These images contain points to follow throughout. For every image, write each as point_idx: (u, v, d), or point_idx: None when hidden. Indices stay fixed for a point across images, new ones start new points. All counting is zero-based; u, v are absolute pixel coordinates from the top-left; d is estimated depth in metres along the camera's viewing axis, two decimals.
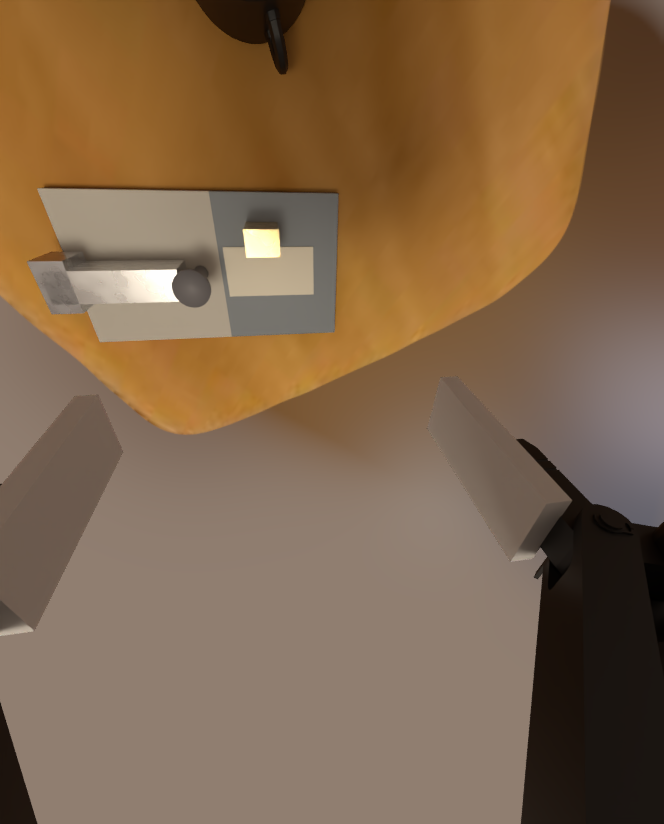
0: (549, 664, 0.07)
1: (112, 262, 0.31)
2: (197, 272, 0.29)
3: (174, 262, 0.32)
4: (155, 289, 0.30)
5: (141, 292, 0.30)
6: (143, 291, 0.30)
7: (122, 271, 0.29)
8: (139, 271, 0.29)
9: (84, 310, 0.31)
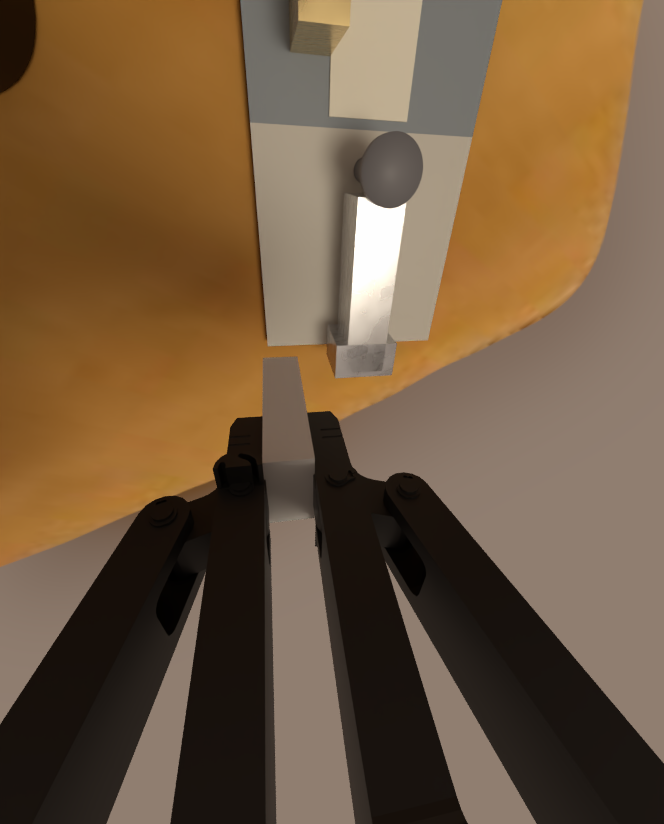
0: (333, 636, 0.07)
1: (341, 294, 0.25)
2: (367, 151, 0.17)
3: (346, 206, 0.21)
4: (382, 240, 0.20)
5: (383, 262, 0.21)
6: (382, 260, 0.21)
7: (353, 280, 0.21)
8: (355, 257, 0.20)
9: (393, 341, 0.24)
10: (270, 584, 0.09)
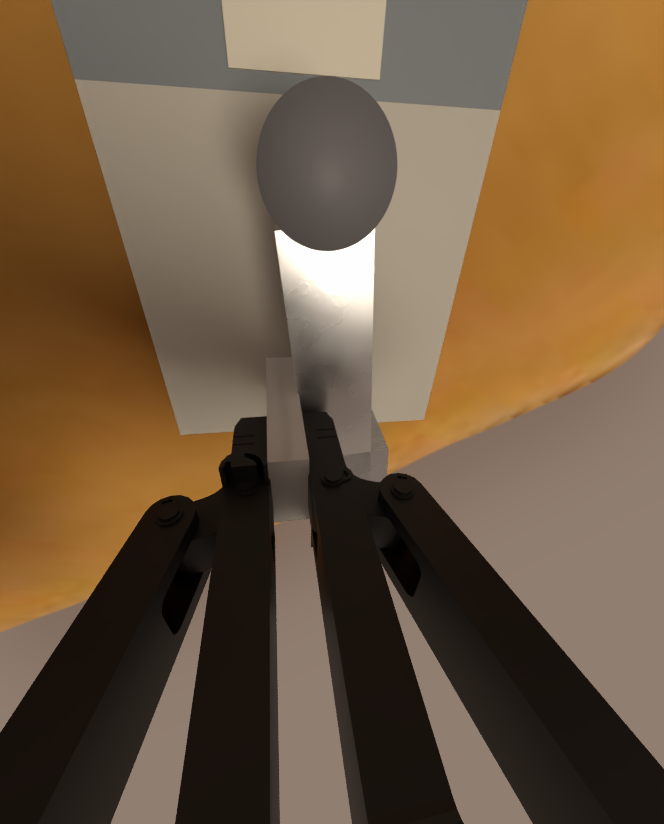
0: (329, 637, 0.07)
1: None
2: (263, 127, 0.07)
3: None
4: (337, 301, 0.11)
5: (345, 337, 0.11)
6: (343, 333, 0.11)
7: (296, 371, 0.12)
8: (292, 334, 0.11)
9: (383, 444, 0.15)
10: (274, 584, 0.09)
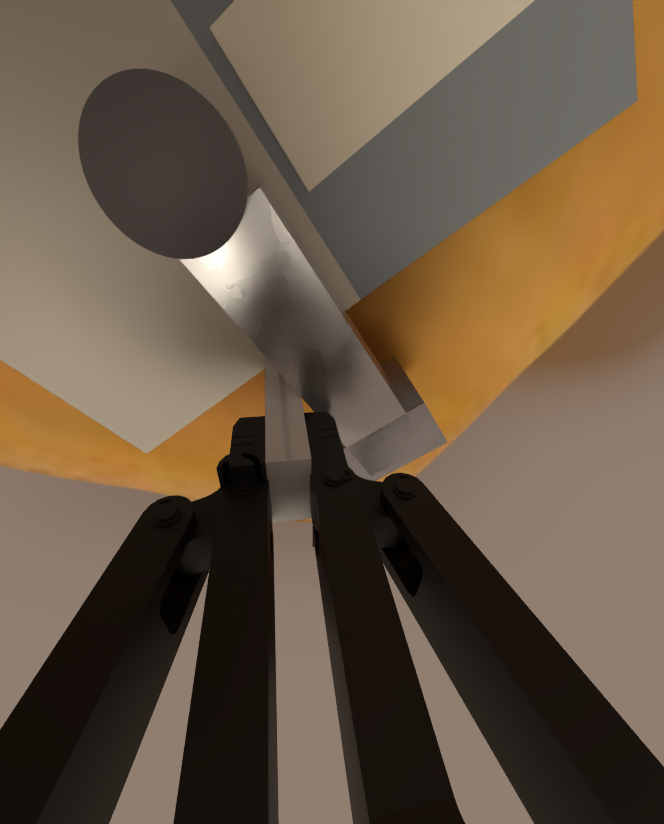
0: (330, 636, 0.07)
1: None
2: (136, 72, 0.06)
3: None
4: (275, 287, 0.10)
5: (306, 316, 0.10)
6: (302, 314, 0.10)
7: (281, 371, 0.11)
8: (256, 339, 0.11)
9: (418, 399, 0.13)
10: (273, 584, 0.09)
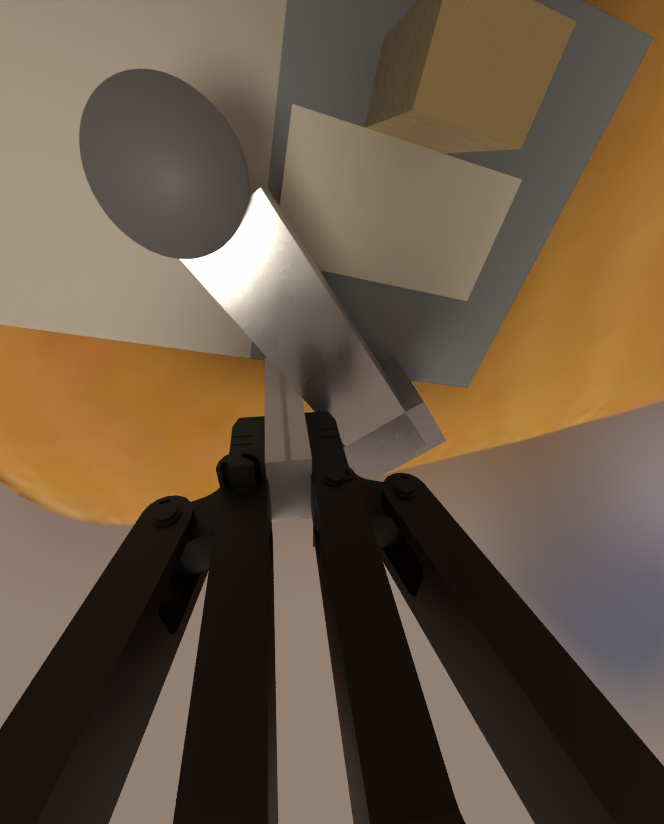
0: (331, 636, 0.07)
1: None
2: (210, 103, 0.07)
3: None
4: (276, 287, 0.10)
5: (307, 316, 0.10)
6: (302, 313, 0.10)
7: (281, 370, 0.11)
8: (257, 339, 0.11)
9: (417, 398, 0.13)
10: (272, 584, 0.09)
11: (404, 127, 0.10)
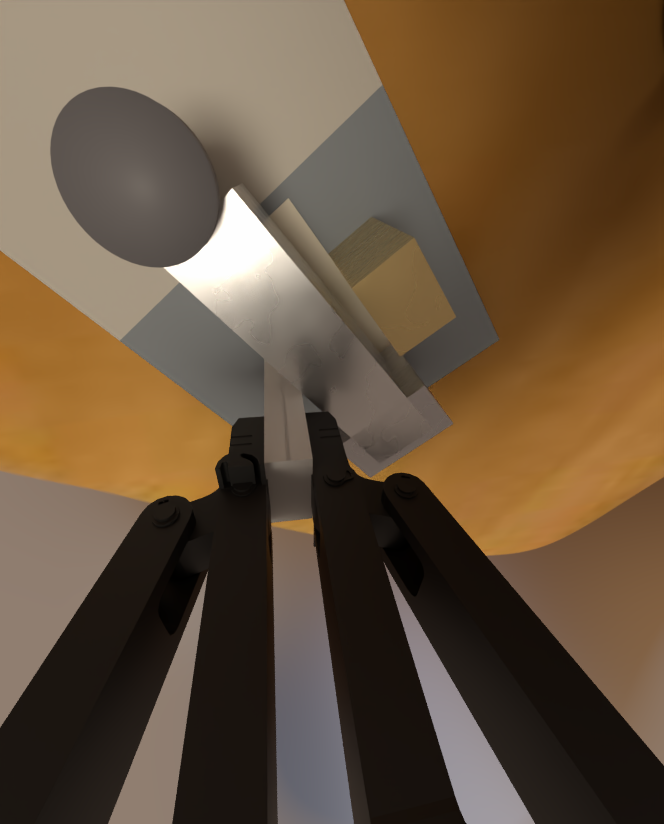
0: (331, 636, 0.07)
1: None
2: (213, 176, 0.07)
3: None
4: (261, 285, 0.10)
5: (294, 311, 0.11)
6: (290, 309, 0.10)
7: (277, 367, 0.12)
8: (249, 339, 0.11)
9: (418, 383, 0.13)
10: (272, 584, 0.09)
11: None
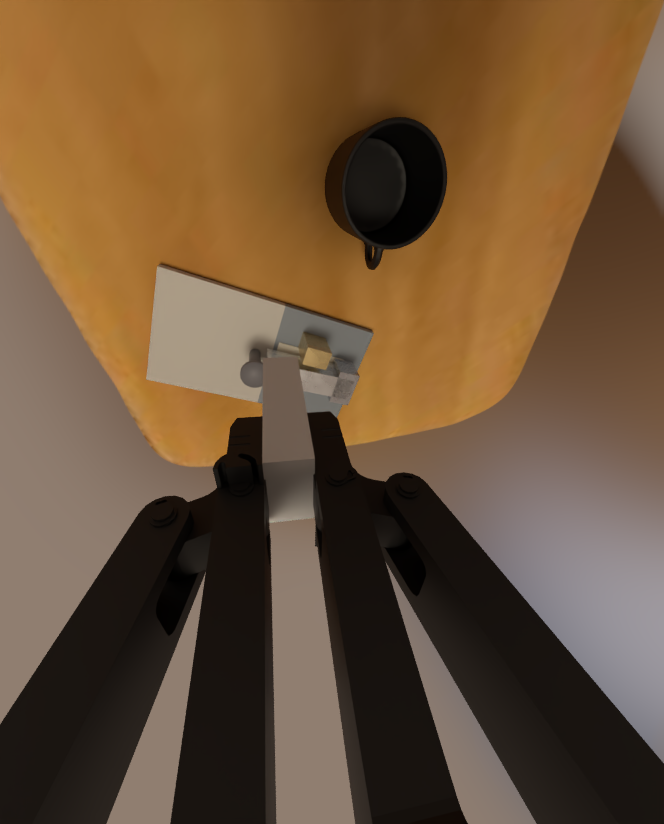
0: (333, 636, 0.07)
1: None
2: None
3: None
4: None
5: None
6: None
7: None
8: None
9: (339, 371, 0.42)
10: (270, 584, 0.09)
11: None
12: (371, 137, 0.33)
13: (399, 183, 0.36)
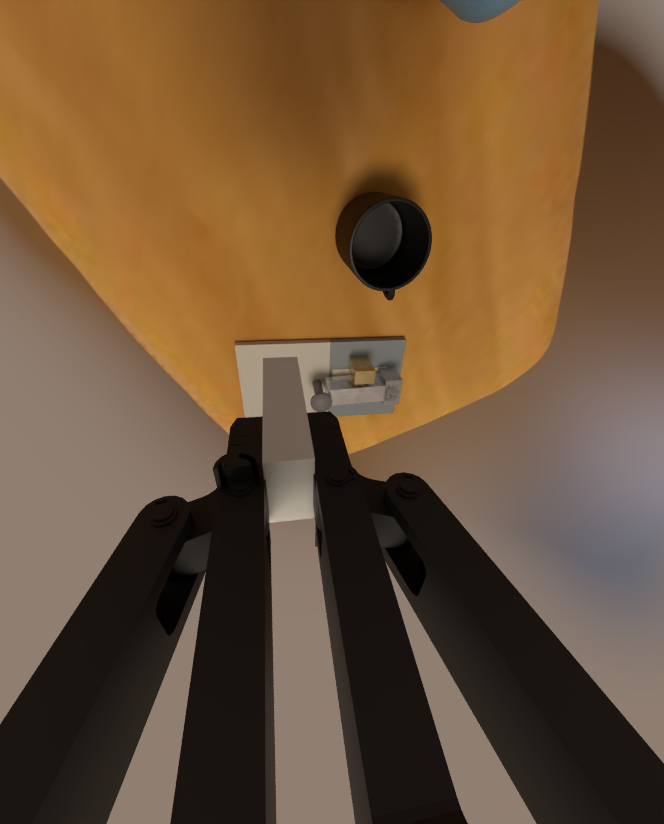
0: (333, 636, 0.07)
1: None
2: (326, 394, 0.49)
3: None
4: (342, 395, 0.51)
5: (350, 393, 0.51)
6: (349, 394, 0.51)
7: None
8: (347, 403, 0.52)
9: (385, 380, 0.51)
10: (270, 584, 0.09)
11: None
12: None
13: (395, 222, 0.43)
